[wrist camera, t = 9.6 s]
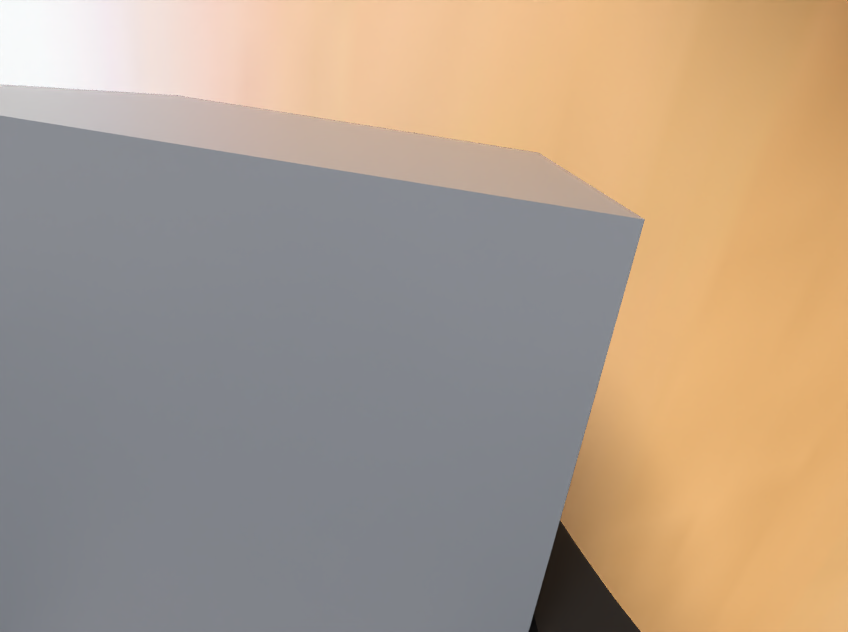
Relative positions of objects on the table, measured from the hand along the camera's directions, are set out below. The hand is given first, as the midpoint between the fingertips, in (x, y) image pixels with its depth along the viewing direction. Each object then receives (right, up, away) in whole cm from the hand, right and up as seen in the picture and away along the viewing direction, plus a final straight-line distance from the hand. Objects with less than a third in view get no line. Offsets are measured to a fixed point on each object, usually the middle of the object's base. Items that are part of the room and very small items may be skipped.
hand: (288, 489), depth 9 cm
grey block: (0, +1, +2) cm, 2 cm away
